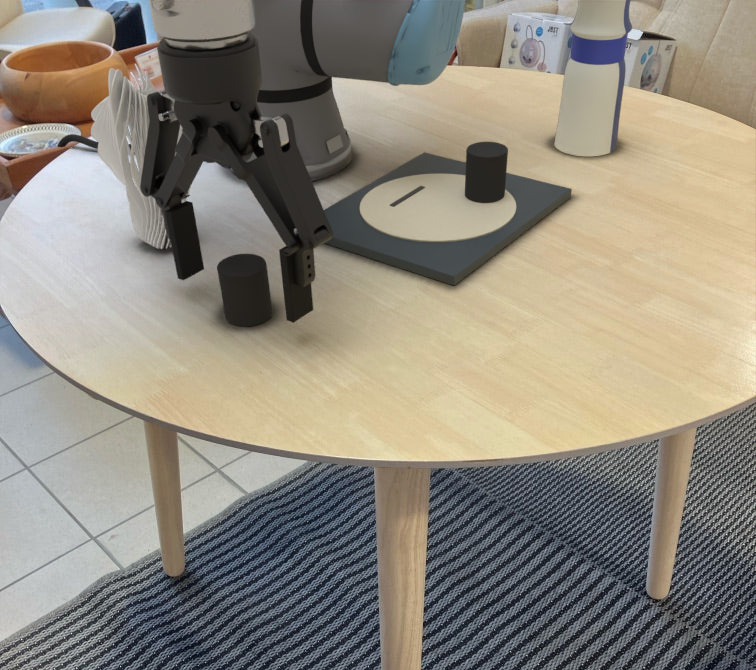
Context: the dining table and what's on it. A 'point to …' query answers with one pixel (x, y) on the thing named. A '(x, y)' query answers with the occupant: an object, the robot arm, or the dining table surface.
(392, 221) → the board
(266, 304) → the stamp
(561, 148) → the water bottle
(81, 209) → the dining table surface
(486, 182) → the stamp
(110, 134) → the white ribbed sculpture
